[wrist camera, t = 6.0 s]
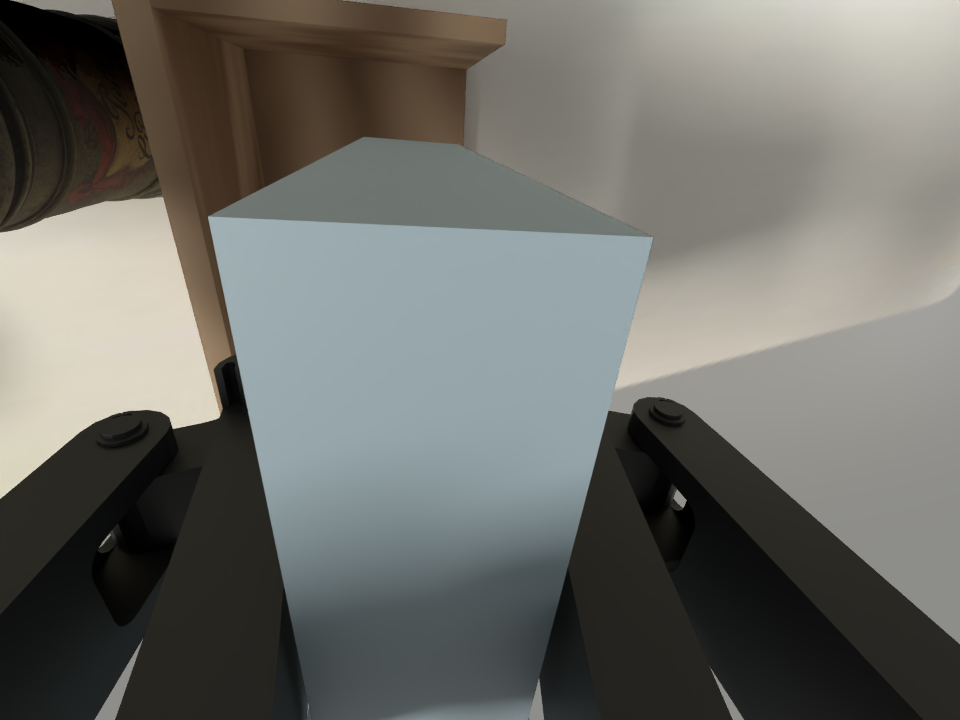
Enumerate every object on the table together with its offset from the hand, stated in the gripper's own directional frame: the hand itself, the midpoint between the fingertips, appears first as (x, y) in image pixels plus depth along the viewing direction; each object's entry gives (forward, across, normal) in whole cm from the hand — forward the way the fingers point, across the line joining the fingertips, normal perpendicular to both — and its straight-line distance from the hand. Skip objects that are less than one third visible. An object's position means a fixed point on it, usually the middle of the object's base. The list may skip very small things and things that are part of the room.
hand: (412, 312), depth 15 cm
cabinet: (+19, -3, 0) cm, 20 cm away
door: (+1, 0, -2) cm, 2 cm away
